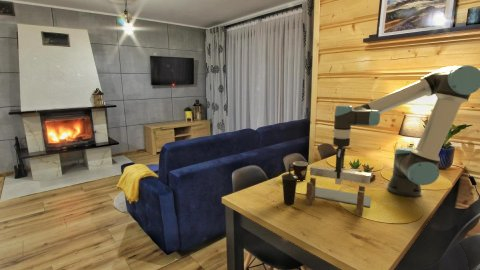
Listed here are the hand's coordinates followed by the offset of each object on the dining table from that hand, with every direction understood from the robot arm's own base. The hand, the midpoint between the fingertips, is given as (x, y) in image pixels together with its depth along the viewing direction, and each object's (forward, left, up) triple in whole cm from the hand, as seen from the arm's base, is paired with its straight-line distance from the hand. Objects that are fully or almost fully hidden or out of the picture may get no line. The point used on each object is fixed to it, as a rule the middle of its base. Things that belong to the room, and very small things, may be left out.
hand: (338, 182), depth 131 cm
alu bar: (0, 0, +2) cm, 2 cm away
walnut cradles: (0, +12, -8) cm, 14 cm away
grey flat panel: (0, 0, -8) cm, 8 cm away
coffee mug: (+25, -14, -8) cm, 30 cm away
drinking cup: (+20, +18, -8) cm, 28 cm away
